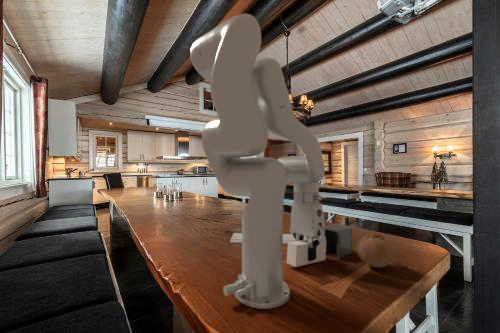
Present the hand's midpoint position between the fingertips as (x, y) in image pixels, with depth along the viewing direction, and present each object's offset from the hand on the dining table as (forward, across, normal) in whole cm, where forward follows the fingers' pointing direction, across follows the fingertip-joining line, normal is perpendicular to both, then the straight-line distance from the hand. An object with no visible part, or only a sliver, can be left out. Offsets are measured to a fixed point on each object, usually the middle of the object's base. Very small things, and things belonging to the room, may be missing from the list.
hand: (306, 257), depth 70 cm
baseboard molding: (+3, +25, -6) cm, 26 cm away
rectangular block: (+1, 0, 0) cm, 1 cm away
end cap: (+2, 0, -16) cm, 16 cm away
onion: (+2, -14, -14) cm, 20 cm away
